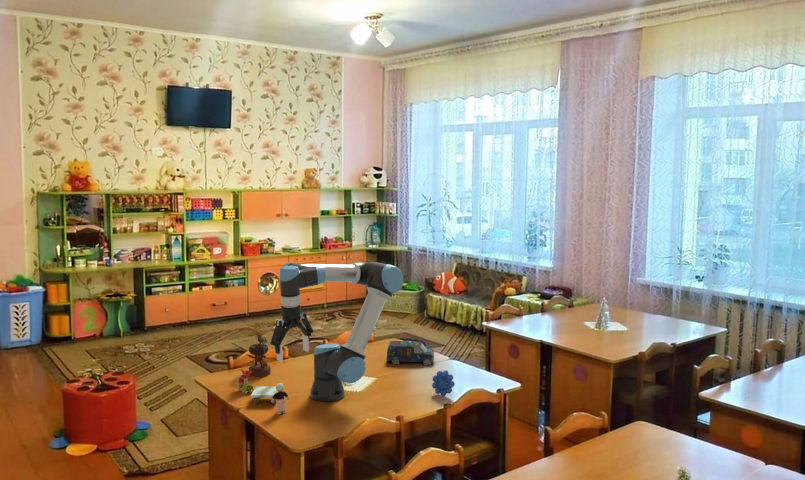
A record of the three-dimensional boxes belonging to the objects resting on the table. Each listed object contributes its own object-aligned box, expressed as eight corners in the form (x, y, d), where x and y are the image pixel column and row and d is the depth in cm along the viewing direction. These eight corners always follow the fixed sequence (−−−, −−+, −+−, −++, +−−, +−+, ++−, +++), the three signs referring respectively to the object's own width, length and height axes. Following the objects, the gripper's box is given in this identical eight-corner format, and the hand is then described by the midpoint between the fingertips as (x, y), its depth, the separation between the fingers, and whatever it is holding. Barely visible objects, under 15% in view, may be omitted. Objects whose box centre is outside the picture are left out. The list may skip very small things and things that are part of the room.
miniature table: (280, 396, 292) (280, 386, 291) (277, 405, 281) (277, 395, 280) (255, 396, 292) (255, 386, 291) (251, 405, 281) (250, 395, 280)
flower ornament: (234, 397, 296) (247, 393, 291) (227, 373, 297) (239, 369, 292) (245, 393, 301) (257, 389, 296) (238, 370, 302) (250, 365, 297)
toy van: (433, 365, 338) (434, 346, 337) (385, 363, 340) (385, 345, 339) (434, 359, 349) (434, 340, 348) (387, 357, 351) (388, 339, 350)
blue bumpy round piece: (459, 396, 294) (459, 369, 293) (451, 400, 289) (451, 373, 288) (437, 390, 301) (437, 365, 300) (429, 394, 296) (429, 368, 294)
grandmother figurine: (285, 409, 277) (285, 380, 275) (290, 412, 274) (290, 382, 272) (269, 414, 272) (269, 384, 270) (274, 416, 269) (273, 386, 267)
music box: (278, 373, 323) (275, 334, 319) (261, 381, 314) (257, 341, 310) (257, 367, 332) (253, 329, 328) (240, 374, 323) (236, 335, 319)
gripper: (308, 296, 272) (310, 344, 277) (259, 310, 254) (262, 362, 258) (320, 299, 268) (322, 348, 272) (271, 314, 249) (274, 367, 253)
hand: (293, 355), depth 265 cm, fingers open, 13 cm apart
